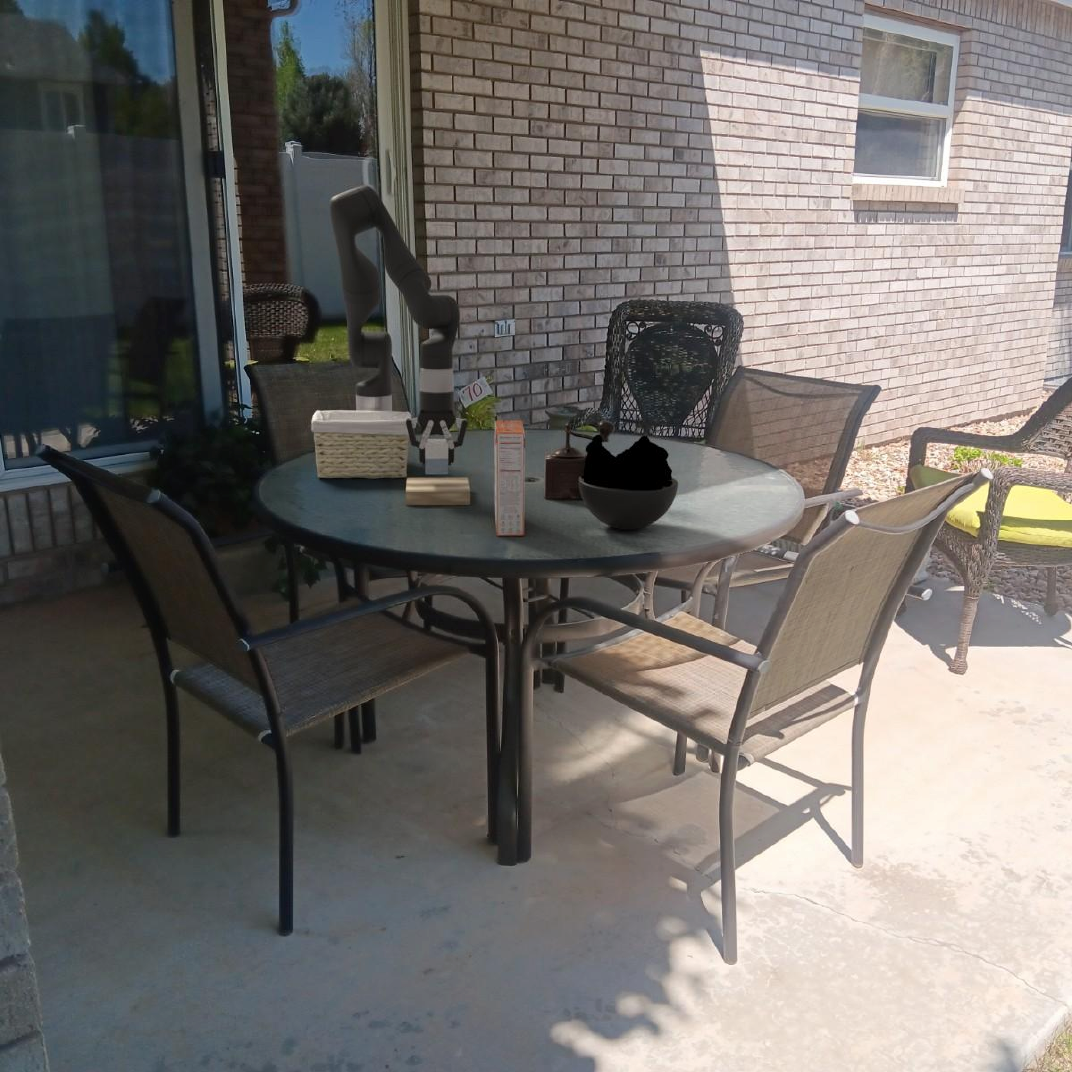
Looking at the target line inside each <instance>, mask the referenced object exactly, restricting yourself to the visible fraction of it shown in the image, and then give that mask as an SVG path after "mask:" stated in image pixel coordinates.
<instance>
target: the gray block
mask: <svg viewBox="0 0 1072 1072" xmlns="http://www.w3.org/2000/svg"><path fill="white" fill-rule="evenodd" d="M448 448H449V446H448V442H447V441H446V438H428V440H427V442H425V465H424V466H425V467H424V468H425V471H424V472H425V475H449V466H448Z"/></svg>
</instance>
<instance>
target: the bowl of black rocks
mask: <svg viewBox="0 0 1072 1072" xmlns="http://www.w3.org/2000/svg"><path fill="white" fill-rule="evenodd" d="M650 440H651V439H650V438H649V437H648V435H642V436H640V438H639V439H638V440H637V441H634V443H633V444H632V445H631V446H630V447H629V448H627V449H624V450H623V451H621V452H620V453H617V454H616V456H615V455H614V454H612V453H611V452H610V451H609V450H608V449H607V448H606V447H605V446H604V445H603V442H602V437H601V436H600V435H599V434H596V435H594V436H593V439H592V440H591V441H590V442H589V443H588V444H587V445H586V446H585V447H586V448H585V449H584V452H587V455H586V459H585V467H584V475H582V476H580V478H579V489H580V493H581V496H582V499H581V500H582V501H583V503H584V505H585V507H586V508H587V510H588V511H589V512H590V513H591V515H592V516H594V517H595V518H596V519H597V520H599V521H600V522H602V523H603V524H605V525H606V526H609V527H611V528H615V529H617V530H618V529H619V530H627V531H628V530H637V529H643V528H646V527H648V526H650V525H652V524H653V523H655V522H657V521H659V520H660V519H661V518H662V517H663V516H664V515H665V514H666V513H667V512H668V510H670V508H671V506H672V504H673V503H674V501H675V499H676V496H677V492H678V488H679V481H678V480H677V479H675V477H673V476H672V473H673V470H672V468H671V466H670V465H669V463H668V460H667V459H668V458H669V456H670V454H669V453H668V450H666V449H665V448H664V447H662V446H659V445H658V444H657V443H654V442H652V441H650Z"/></svg>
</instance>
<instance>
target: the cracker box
mask: <svg viewBox="0 0 1072 1072" xmlns="http://www.w3.org/2000/svg"><path fill="white" fill-rule="evenodd" d="M493 439H494V440H493V441H494V443H493V444H494V446H493V447H494V452H493V453H494V458H493V460H494V463H493V464H494V471H493V472H494V473H493V474H494V478H493V480H494V482H493V483H494V519H495V522H494V523H495V534H496V537H524V536H525V513H526V512H525V510H526V509H525V499H526V498H525V492H526V491H525V489H526V487H525V484H526V483H525V482H526V480H525V479H526V478H525V477H526V476H525V475H526V471H525V470H526V468H525V467H526V466H525V465H526V462H525V461H526V432H525V429H524V425H523V421H522V420H509V419H508V420H507V419H501V420H500V419H499V420H494V438H493Z"/></svg>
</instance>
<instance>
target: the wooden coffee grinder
mask: <svg viewBox="0 0 1072 1072" xmlns="http://www.w3.org/2000/svg"><path fill="white" fill-rule="evenodd" d="M597 426H598V427H597V428H598V431H599V433H598V435H600V436H601V437H602V443H608V442H610V439H609V437H610V435H612V434H613V433H614V432H615V430H616V427H615V424H613V422H611V421H609V420H605V419H604V420H602V421H600V422H599V423H598V425H597ZM571 427H572V425H571V423H566V424H565V430H564V433H565V444H564V445H563V446H560V447H558V448H556V449H555V450H545V452H544V469H543V470H544V471H543V488H542V490H543V498H544V499H545V500H565V501H566V500H567V501H569V500H583V499H582V496H581V493H580V489H579V478H580V476H582V475H584V467H585V459H586V455H587V452H586V451H581V450H580V449H578V448H577V447H576V446H575V447H574V446H571V443H570V440H571V436H573V437H576V438H581V439H586V440H590V441H592V439H593V437H594V436H592V435H588V434H584V433H578V432H574V431H572V429H571Z"/></svg>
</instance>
